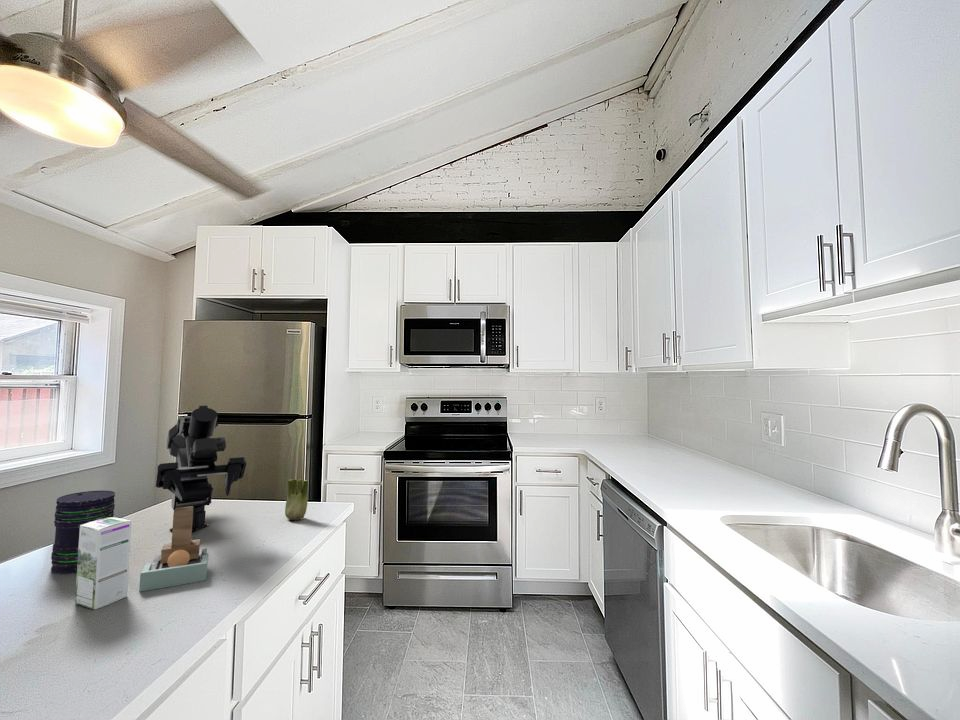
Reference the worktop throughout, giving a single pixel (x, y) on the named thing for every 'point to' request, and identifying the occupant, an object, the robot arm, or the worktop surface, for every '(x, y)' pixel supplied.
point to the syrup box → (103, 562)
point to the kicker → (181, 535)
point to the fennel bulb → (296, 500)
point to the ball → (178, 558)
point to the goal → (172, 575)
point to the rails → (157, 558)
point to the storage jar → (76, 525)
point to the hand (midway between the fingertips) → (206, 497)
